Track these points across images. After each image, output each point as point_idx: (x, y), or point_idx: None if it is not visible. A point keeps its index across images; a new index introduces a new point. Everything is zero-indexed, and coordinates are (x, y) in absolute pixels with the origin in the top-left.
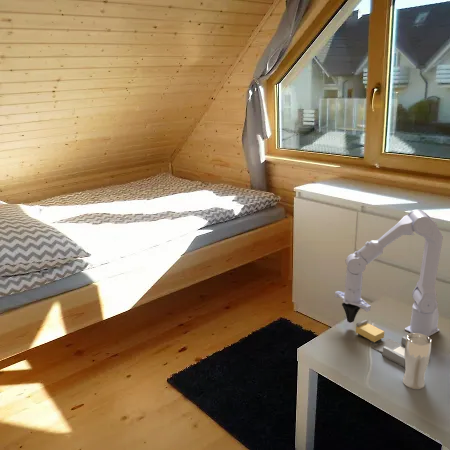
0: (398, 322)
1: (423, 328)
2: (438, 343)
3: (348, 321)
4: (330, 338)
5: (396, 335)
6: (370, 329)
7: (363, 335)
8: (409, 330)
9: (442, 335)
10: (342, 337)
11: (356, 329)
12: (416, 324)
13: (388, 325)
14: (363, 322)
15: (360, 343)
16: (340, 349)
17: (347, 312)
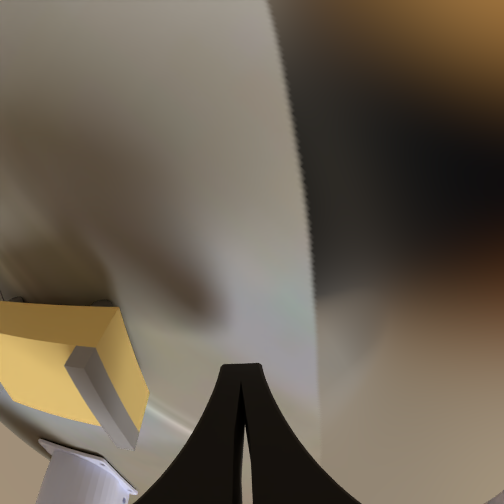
0: (160, 476)
1: (47, 470)
2: (19, 433)
3: (243, 367)
4: (199, 49)
5: (69, 420)
6: (32, 376)
7: (49, 309)
8: (84, 457)
9: None
10: (144, 163)
11: (102, 325)
12: (56, 479)
13: (153, 456)
14: (96, 417)
15: (27, 231)
16: (42, 40)
17: (253, 457)
